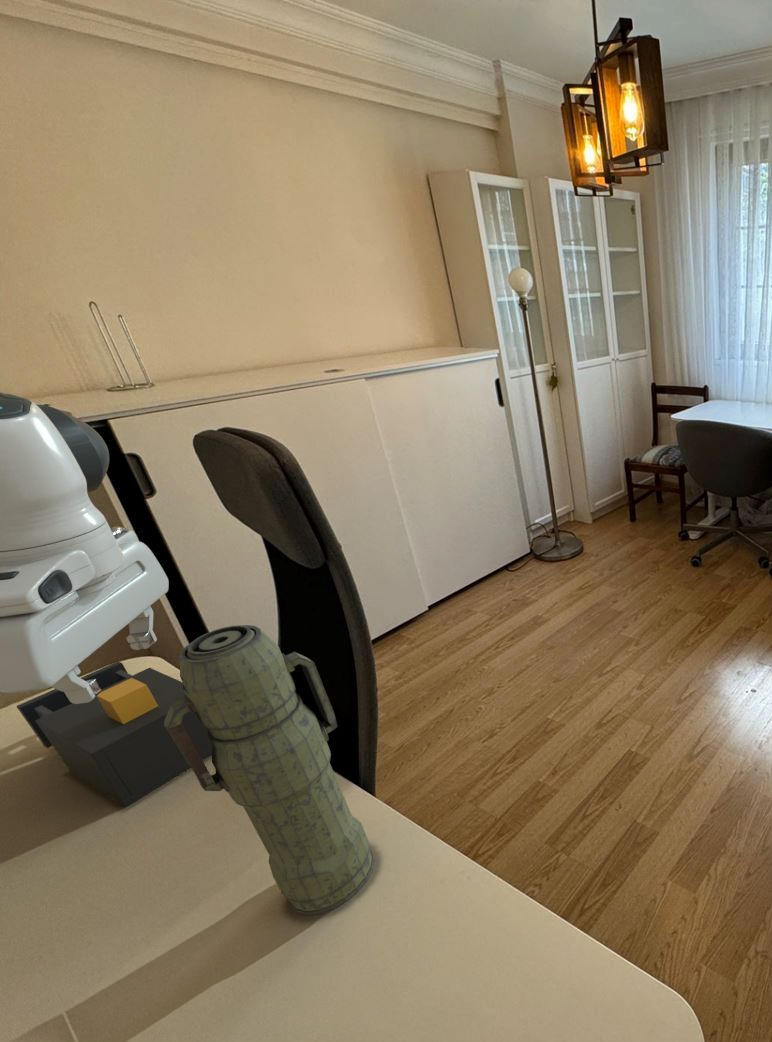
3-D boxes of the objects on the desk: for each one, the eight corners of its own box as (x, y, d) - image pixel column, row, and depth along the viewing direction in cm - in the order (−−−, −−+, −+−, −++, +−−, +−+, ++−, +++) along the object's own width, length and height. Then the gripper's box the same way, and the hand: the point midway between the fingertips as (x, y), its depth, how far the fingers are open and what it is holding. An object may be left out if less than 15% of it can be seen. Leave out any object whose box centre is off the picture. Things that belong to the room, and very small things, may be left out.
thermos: (259, 902, 65) (118, 658, 50) (362, 825, 74) (268, 599, 59) (296, 944, 60) (153, 691, 46) (400, 857, 69) (310, 622, 55)
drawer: (31, 737, 88) (3, 698, 84) (126, 692, 98) (105, 655, 94) (90, 775, 81) (62, 733, 77) (187, 721, 91) (166, 683, 87)
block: (108, 716, 79) (95, 694, 77) (144, 699, 82) (131, 677, 81) (123, 724, 77) (109, 702, 76) (158, 706, 81) (146, 684, 79)
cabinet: (70, 771, 83) (34, 720, 79) (176, 715, 94) (149, 667, 89) (126, 807, 77) (90, 753, 73) (231, 742, 88) (206, 692, 83)
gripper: (92, 522, 64) (143, 624, 69) (-85, 616, 46) (4, 742, 52) (158, 517, 65) (203, 617, 71) (13, 606, 47) (88, 729, 53)
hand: (118, 670), depth 61 cm, fingers open, 8 cm apart
